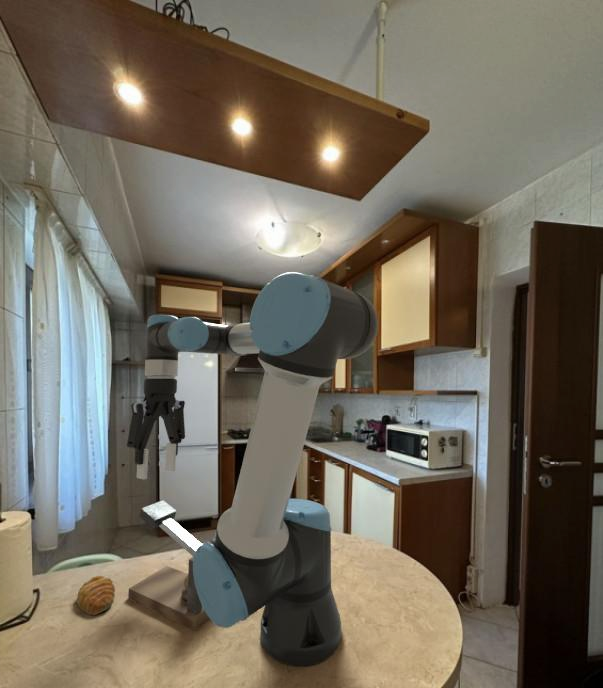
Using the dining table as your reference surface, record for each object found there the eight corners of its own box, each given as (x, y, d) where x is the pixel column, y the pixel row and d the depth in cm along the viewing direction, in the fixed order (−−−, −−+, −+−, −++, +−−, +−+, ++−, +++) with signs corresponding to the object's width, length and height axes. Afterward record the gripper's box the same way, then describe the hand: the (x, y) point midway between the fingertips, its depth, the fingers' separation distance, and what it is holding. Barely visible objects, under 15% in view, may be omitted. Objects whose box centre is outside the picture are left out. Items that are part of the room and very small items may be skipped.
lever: (220, 560, 70) (223, 549, 70) (199, 575, 65) (203, 563, 65) (160, 510, 80) (163, 500, 80) (138, 519, 75) (141, 508, 75)
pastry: (121, 606, 69) (122, 587, 69) (84, 623, 64) (85, 602, 65) (108, 587, 75) (109, 569, 76) (73, 601, 71) (74, 582, 71)
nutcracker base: (229, 599, 71) (231, 543, 72) (195, 630, 62) (197, 565, 63) (166, 574, 80) (168, 525, 81) (128, 598, 71) (131, 542, 72)
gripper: (182, 378, 91) (179, 463, 89) (112, 377, 74) (105, 483, 71) (202, 378, 88) (199, 466, 85) (133, 377, 70) (127, 488, 67)
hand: (156, 473), depth 78 cm, fingers open, 7 cm apart
